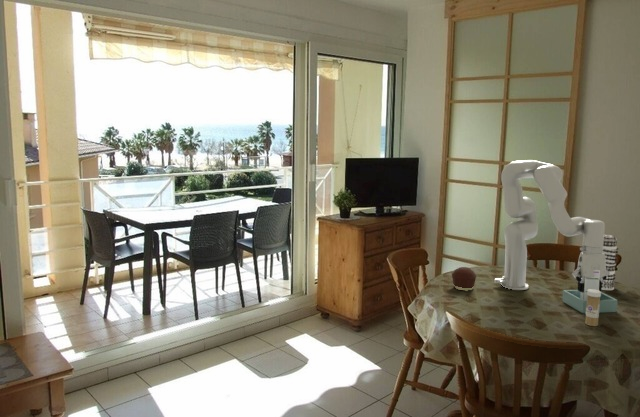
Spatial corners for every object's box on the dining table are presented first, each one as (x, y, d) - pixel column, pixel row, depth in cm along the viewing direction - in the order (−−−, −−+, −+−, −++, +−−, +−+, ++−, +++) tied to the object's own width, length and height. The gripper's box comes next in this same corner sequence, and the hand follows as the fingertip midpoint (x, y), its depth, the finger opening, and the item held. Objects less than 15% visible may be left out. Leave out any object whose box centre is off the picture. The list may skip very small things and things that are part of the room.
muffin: (451, 284, 244) (452, 264, 243) (475, 285, 241) (476, 265, 240) (451, 291, 233) (451, 270, 232) (476, 293, 230) (476, 272, 229)
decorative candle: (618, 290, 231) (622, 237, 228) (597, 290, 233) (600, 237, 229) (610, 285, 240) (614, 233, 237) (590, 284, 242) (593, 233, 238)
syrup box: (598, 303, 208) (601, 270, 205) (583, 303, 209) (585, 269, 207) (593, 299, 213) (596, 266, 211) (578, 298, 214) (581, 265, 212)
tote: (582, 313, 203) (583, 301, 203) (562, 301, 218) (563, 290, 217) (616, 311, 205) (617, 300, 204) (594, 300, 219) (595, 289, 218)
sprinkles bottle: (583, 324, 191) (586, 290, 189) (586, 321, 195) (588, 287, 193) (597, 327, 188) (599, 293, 186) (599, 324, 192) (602, 290, 190)
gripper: (577, 252, 203) (574, 294, 206) (618, 251, 205) (614, 293, 207) (567, 248, 211) (564, 289, 213) (606, 247, 212) (603, 287, 215)
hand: (589, 290), depth 210 cm, fingers closed on syrup box, 6 cm apart
